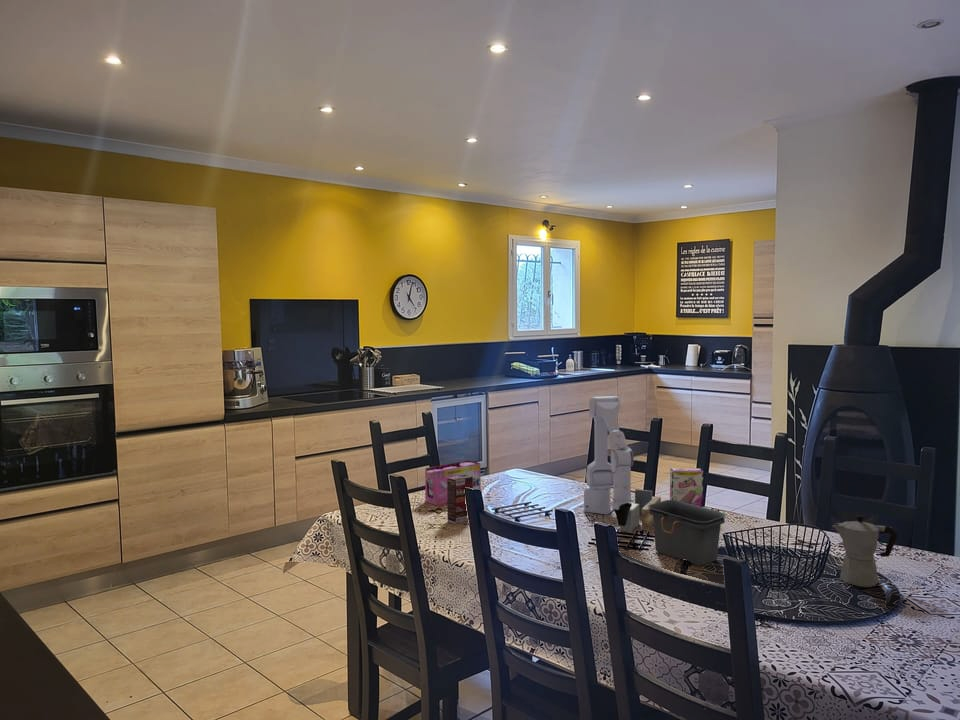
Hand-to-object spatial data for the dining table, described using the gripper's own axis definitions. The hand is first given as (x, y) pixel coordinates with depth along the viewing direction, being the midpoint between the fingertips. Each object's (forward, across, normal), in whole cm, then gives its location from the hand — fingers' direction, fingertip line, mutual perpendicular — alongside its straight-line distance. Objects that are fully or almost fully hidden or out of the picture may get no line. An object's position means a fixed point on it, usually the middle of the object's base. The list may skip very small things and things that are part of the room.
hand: (622, 525), depth 230 cm
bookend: (+2, +23, -1) cm, 23 cm away
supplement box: (+3, -12, +56) cm, 57 cm away
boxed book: (+2, +7, 0) cm, 7 cm away
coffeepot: (+2, -13, -70) cm, 72 cm away
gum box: (+3, +13, +73) cm, 74 cm away
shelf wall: (+2, +15, -6) cm, 16 cm away
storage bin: (+3, -15, -24) cm, 28 cm away
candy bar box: (+3, +31, -14) cm, 34 cm away
